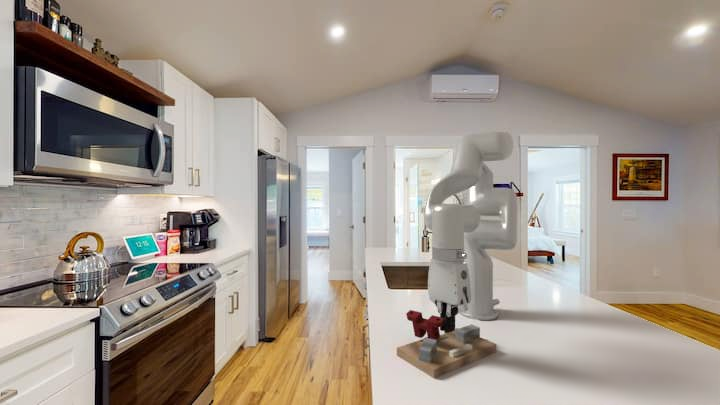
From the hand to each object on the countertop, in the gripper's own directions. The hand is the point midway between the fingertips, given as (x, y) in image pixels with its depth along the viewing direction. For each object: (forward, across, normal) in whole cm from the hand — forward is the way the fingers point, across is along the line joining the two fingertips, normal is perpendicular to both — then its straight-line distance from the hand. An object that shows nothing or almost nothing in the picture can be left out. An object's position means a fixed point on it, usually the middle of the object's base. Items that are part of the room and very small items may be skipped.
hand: (447, 330), depth 77 cm
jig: (+6, 0, 0) cm, 6 cm away
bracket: (0, -1, +2) cm, 2 cm away
